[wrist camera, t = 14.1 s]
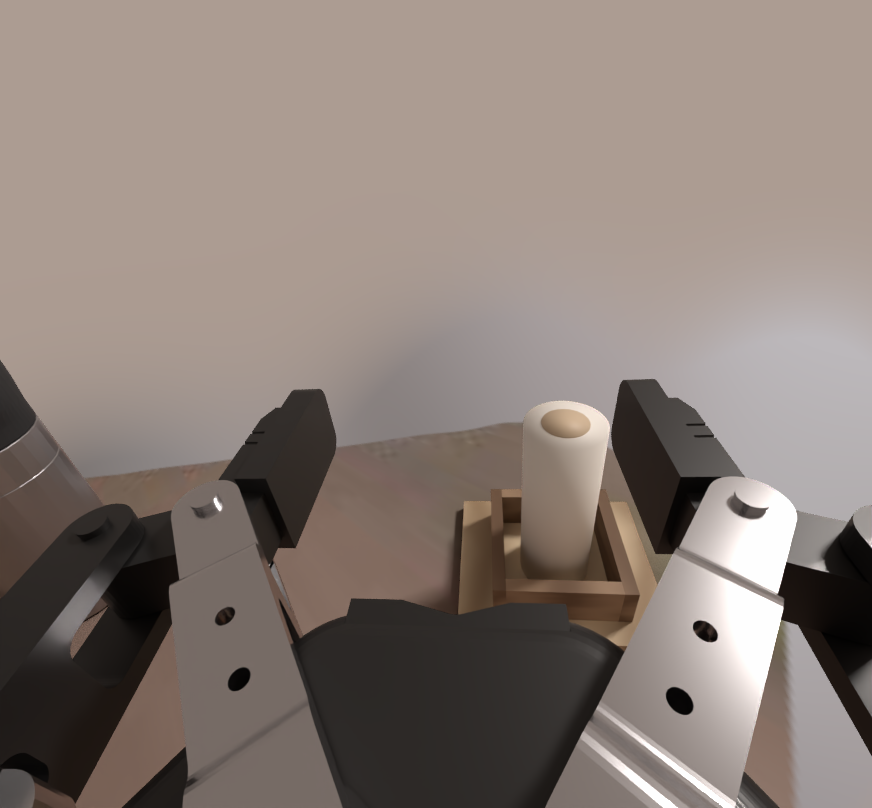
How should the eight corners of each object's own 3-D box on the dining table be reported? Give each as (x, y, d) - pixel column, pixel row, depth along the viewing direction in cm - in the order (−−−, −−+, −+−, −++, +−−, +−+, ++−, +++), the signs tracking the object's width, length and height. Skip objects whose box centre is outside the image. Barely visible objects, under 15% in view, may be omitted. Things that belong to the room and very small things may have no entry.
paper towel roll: (522, 591, 35) (527, 449, 27) (517, 536, 39) (520, 400, 31) (593, 593, 34) (620, 448, 26) (580, 536, 39) (599, 398, 31)
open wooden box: (457, 644, 33) (453, 612, 30) (464, 507, 44) (462, 476, 42) (677, 655, 31) (692, 621, 28) (624, 509, 42) (632, 475, 40)
